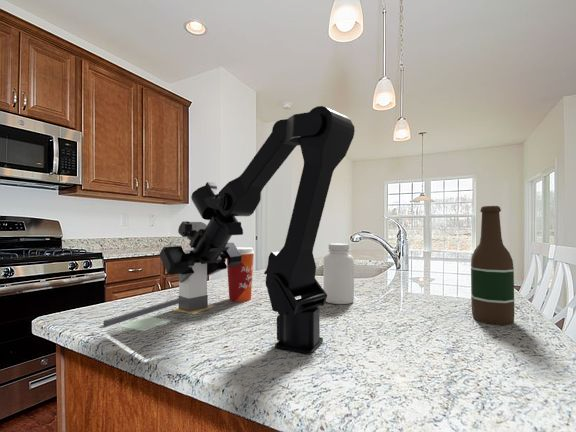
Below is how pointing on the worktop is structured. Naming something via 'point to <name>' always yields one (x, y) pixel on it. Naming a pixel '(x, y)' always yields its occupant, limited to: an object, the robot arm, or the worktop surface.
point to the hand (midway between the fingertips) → (190, 279)
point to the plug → (194, 289)
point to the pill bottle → (339, 274)
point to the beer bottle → (492, 273)
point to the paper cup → (241, 276)
